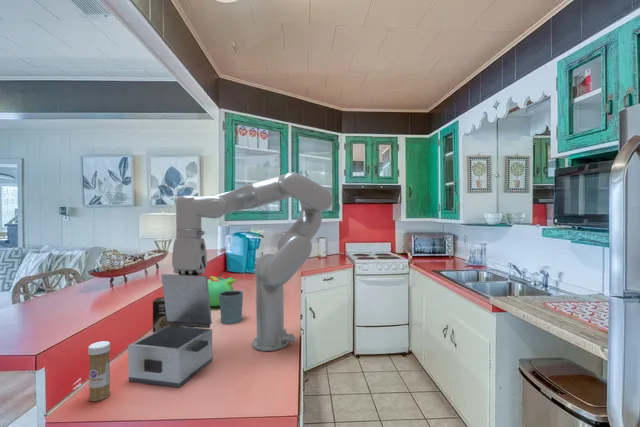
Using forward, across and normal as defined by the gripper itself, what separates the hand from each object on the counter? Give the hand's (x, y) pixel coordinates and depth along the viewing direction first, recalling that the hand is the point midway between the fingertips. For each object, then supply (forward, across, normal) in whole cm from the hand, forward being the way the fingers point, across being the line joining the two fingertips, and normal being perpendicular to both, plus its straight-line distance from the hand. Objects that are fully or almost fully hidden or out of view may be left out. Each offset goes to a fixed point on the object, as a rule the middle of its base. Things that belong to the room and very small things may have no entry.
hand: (189, 291), depth 104 cm
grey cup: (+21, +5, -36) cm, 42 cm away
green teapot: (+21, +23, -56) cm, 64 cm away
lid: (+3, 0, +2) cm, 3 cm away
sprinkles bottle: (+22, +9, +24) cm, 34 cm away
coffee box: (+22, +15, -9) cm, 28 cm away
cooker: (+21, 0, +8) cm, 23 cm away
